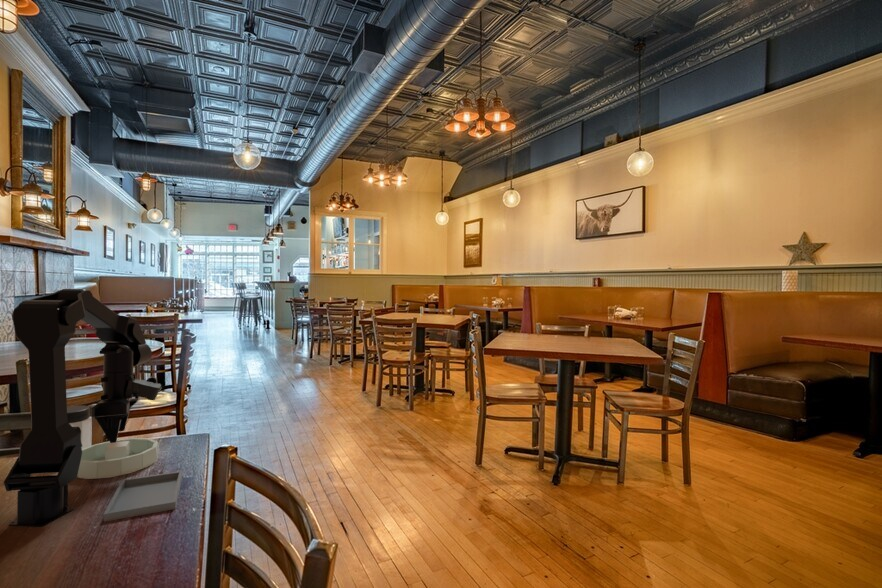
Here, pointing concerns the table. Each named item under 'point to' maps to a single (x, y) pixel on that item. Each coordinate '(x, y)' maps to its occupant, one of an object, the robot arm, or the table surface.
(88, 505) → the table surface
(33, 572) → the table surface
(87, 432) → the lidded white canister
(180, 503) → the table surface
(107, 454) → the block
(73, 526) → the table surface
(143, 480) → the parts tray
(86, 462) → the bowl
